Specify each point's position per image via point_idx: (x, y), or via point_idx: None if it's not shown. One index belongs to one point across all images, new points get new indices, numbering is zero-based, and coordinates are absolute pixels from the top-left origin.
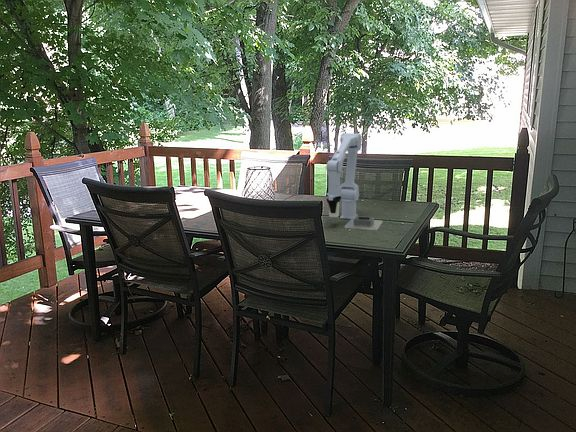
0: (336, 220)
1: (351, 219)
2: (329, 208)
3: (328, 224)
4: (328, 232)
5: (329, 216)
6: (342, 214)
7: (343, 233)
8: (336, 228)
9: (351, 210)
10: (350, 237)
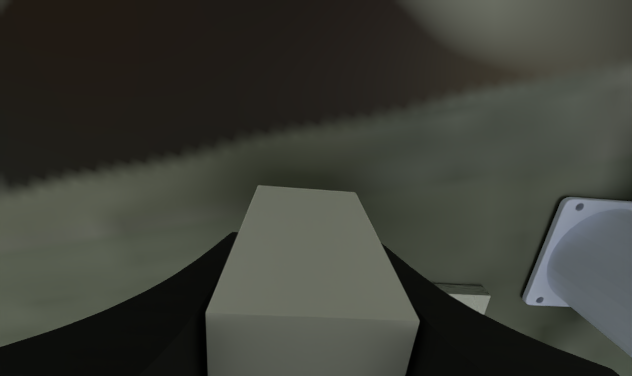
0: (492, 181)
1: (465, 299)
2: (235, 242)
3: (343, 137)
4: (68, 183)
5: (258, 190)
6: (605, 228)
7: (90, 290)
8: (221, 223)
9: (603, 328)
10: (8, 342)
